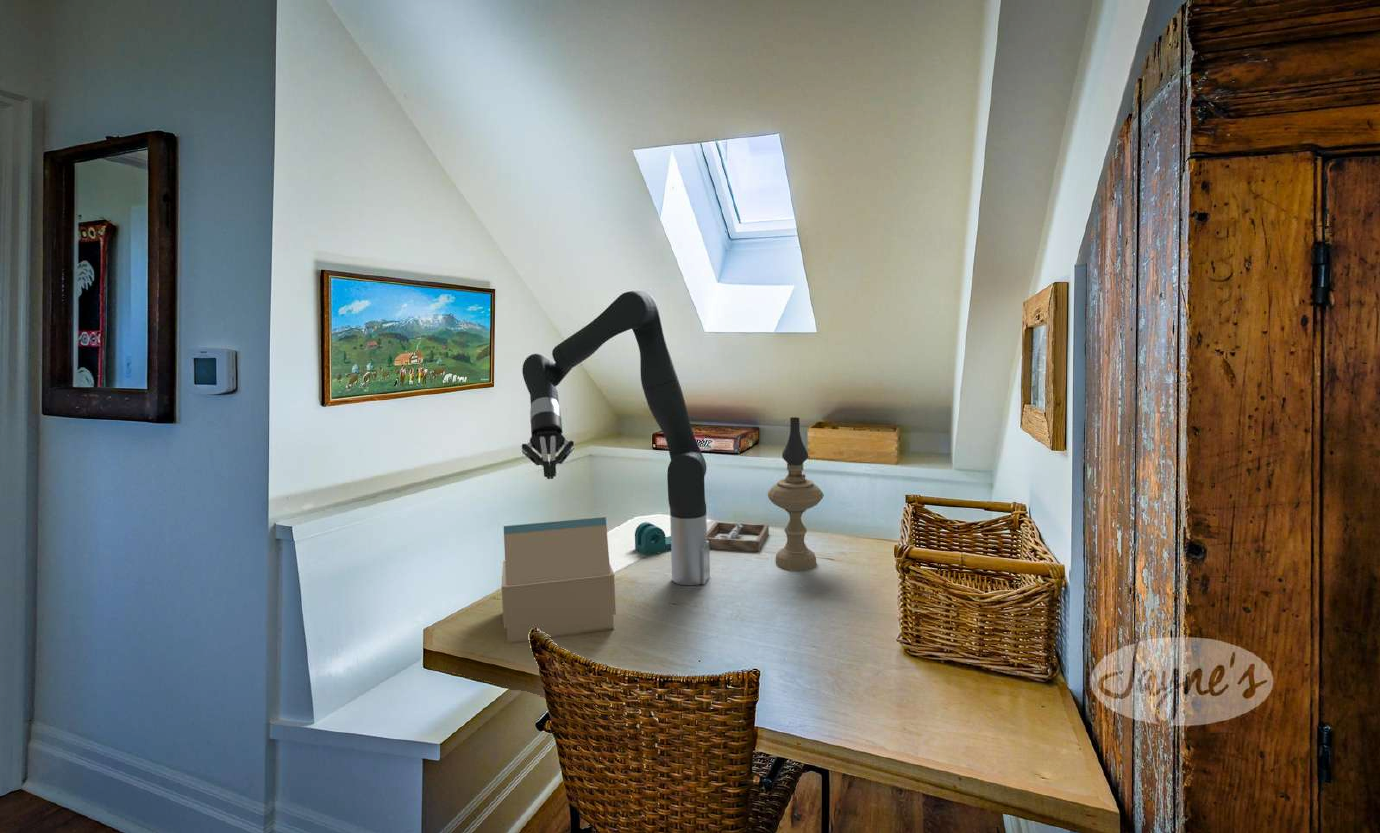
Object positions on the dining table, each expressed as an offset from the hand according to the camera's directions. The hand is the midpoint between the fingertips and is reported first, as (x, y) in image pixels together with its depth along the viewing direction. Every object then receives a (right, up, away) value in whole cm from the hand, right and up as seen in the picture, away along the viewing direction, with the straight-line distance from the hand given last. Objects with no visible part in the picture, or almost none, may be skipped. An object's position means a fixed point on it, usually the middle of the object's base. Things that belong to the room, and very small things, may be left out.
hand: (550, 477), depth 157 cm
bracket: (+26, -25, +43) cm, 56 cm away
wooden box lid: (+5, -14, -16) cm, 22 cm away
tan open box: (+4, -31, -7) cm, 32 cm away
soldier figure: (+46, -24, +48) cm, 71 cm away
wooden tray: (+47, -24, +48) cm, 71 cm away
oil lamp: (+62, -26, +26) cm, 72 cm away
